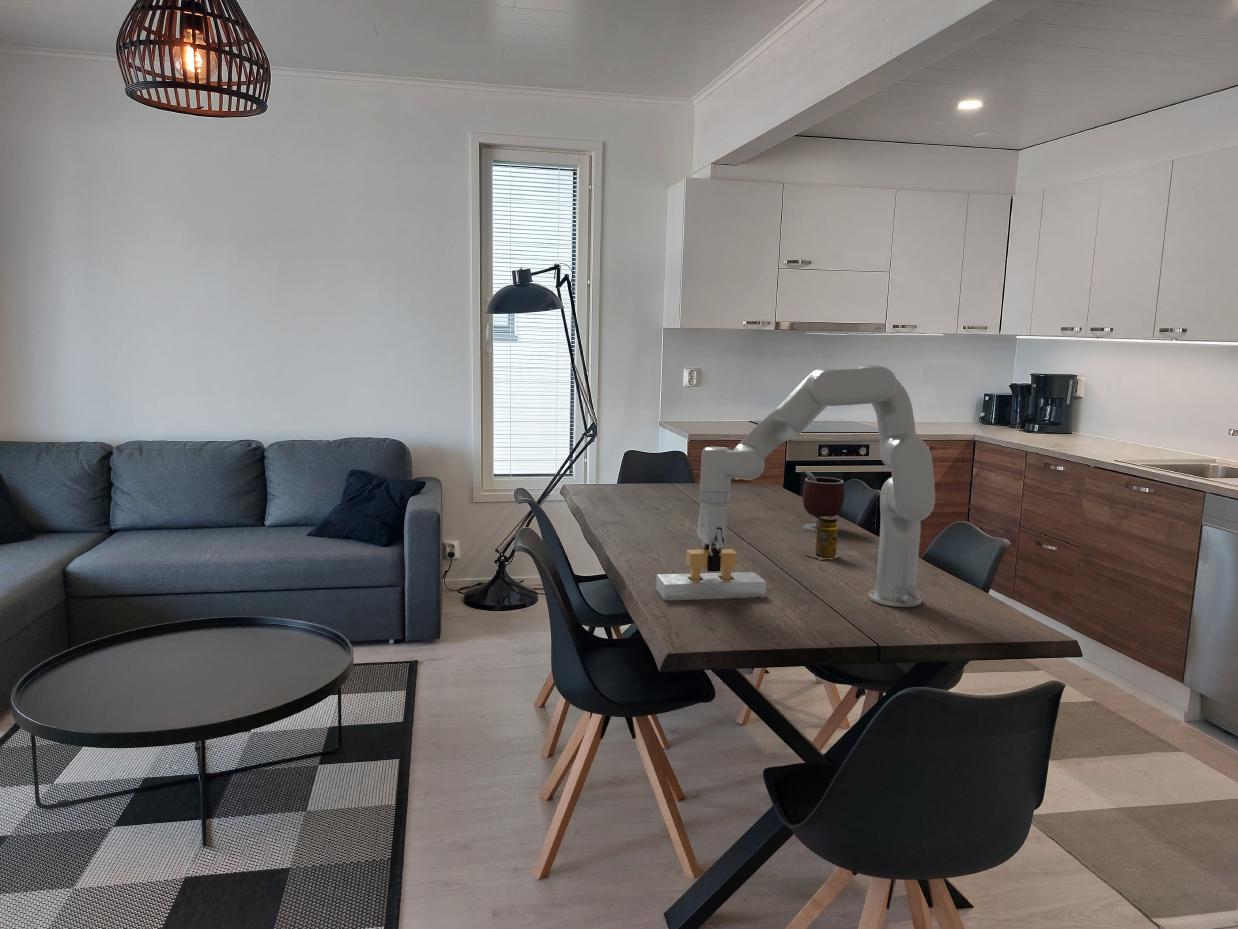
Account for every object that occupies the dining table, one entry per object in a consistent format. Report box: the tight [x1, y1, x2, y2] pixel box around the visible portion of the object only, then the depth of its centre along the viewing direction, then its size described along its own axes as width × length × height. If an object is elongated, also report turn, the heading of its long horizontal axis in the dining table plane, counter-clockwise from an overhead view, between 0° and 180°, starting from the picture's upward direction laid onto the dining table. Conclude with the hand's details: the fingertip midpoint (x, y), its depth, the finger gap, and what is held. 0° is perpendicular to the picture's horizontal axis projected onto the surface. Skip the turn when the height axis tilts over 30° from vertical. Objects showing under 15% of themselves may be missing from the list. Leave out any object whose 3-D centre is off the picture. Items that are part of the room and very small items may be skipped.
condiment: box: [814, 516, 839, 558], centre depth 254 cm, size 7×8×12 cm
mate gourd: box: [801, 468, 845, 533], centre depth 292 cm, size 16×14×20 cm
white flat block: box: [655, 571, 767, 601], centre depth 214 cm, size 9×26×4 cm, turn 101°
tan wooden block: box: [685, 548, 738, 580], centre depth 214 cm, size 4×12×7 cm, turn 101°
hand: (710, 567), depth 214 cm, fingers closed on tan wooden block, 4 cm apart
